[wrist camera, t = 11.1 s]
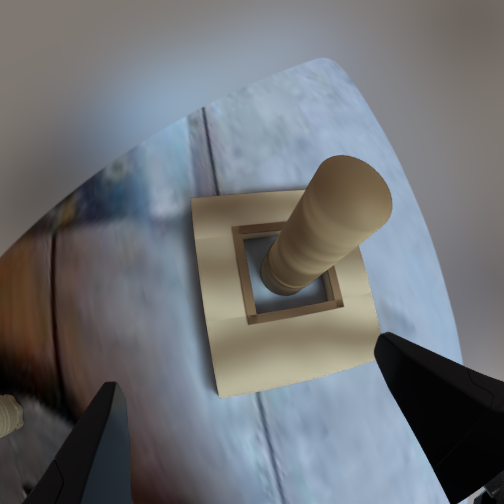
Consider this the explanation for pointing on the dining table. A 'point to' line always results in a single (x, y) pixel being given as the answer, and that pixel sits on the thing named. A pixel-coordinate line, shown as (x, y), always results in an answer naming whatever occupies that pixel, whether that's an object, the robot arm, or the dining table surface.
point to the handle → (10, 415)
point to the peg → (327, 223)
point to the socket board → (277, 322)
